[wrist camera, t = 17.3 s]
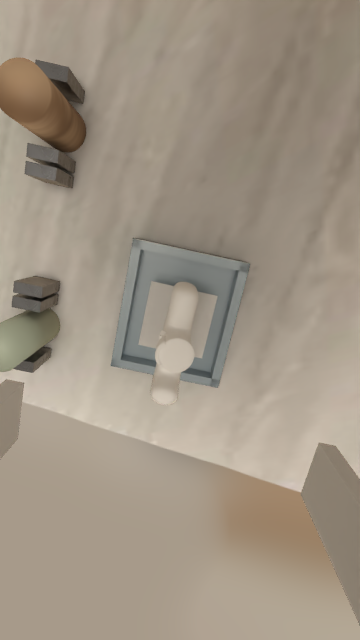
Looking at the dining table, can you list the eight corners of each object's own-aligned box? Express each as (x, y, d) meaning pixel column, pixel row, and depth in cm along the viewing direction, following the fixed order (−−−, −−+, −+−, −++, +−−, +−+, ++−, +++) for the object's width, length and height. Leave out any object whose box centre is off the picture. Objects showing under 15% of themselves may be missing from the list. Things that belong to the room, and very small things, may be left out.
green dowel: (26, 303, 41) (-24, 323, 31) (62, 310, 41) (23, 332, 31) (22, 337, 42) (-27, 367, 32) (57, 344, 42) (19, 376, 32)
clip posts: (56, 84, 35) (35, 59, 30) (84, 91, 35) (68, 67, 30) (26, 352, 42) (5, 367, 37) (50, 357, 42) (32, 372, 37)
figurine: (217, 281, 39) (236, 307, 24) (198, 356, 41) (205, 420, 27) (156, 267, 39) (138, 285, 24) (140, 343, 41) (115, 401, 26)
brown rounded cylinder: (47, 103, 35) (-5, 51, 26) (88, 112, 36) (52, 64, 26) (43, 147, 36) (-9, 114, 27) (82, 156, 37) (45, 126, 27)
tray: (136, 238, 39) (133, 238, 36) (246, 262, 39) (250, 263, 37) (115, 358, 42) (110, 365, 40) (216, 379, 43) (217, 387, 40)
